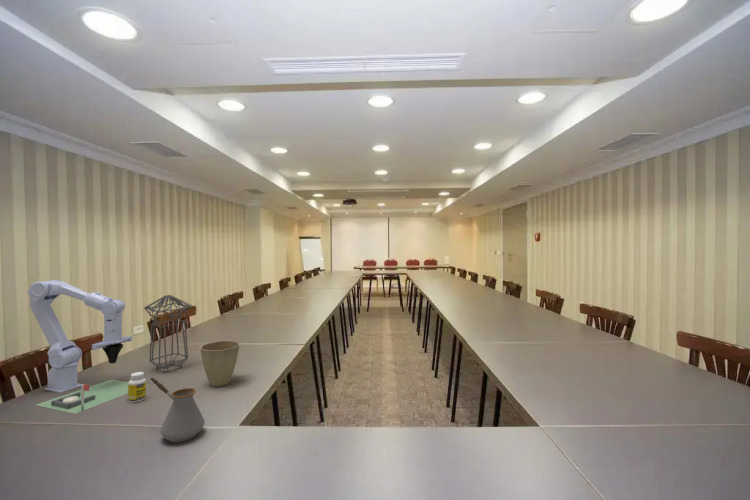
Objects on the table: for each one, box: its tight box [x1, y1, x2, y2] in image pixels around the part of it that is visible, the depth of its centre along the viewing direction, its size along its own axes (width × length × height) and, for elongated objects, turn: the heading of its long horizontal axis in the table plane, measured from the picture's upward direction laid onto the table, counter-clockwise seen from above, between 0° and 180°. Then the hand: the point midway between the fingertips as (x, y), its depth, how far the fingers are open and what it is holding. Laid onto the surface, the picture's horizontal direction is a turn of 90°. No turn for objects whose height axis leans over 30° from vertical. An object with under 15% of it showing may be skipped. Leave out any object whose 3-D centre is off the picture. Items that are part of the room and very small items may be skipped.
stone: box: [63, 396, 78, 403], centre depth 123 cm, size 4×4×2 cm
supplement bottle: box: [127, 371, 147, 404], centre depth 127 cm, size 5×5×10 cm
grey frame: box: [51, 383, 95, 412], centre depth 123 cm, size 18×8×9 cm, turn 72°
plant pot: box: [200, 340, 240, 387], centre depth 143 cm, size 15×15×16 cm
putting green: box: [35, 379, 148, 415], centre depth 131 cm, size 21×26×1 cm
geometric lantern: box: [143, 294, 193, 373], centre depth 161 cm, size 16×16×35 cm
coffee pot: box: [147, 377, 205, 443], centre depth 105 cm, size 21×12×15 cm, turn 65°
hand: (112, 362), depth 141 cm, fingers closed
